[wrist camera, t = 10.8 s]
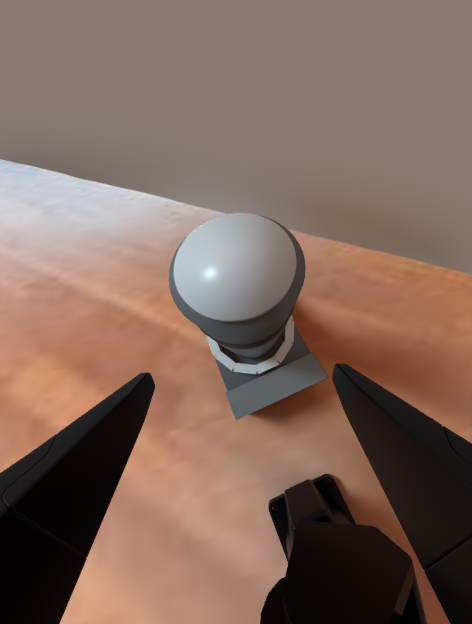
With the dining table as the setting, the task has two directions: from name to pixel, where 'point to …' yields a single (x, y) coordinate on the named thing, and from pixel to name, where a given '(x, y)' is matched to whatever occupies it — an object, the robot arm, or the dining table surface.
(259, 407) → the camera body
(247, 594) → the dining table surface
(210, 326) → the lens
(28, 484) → the robot arm
